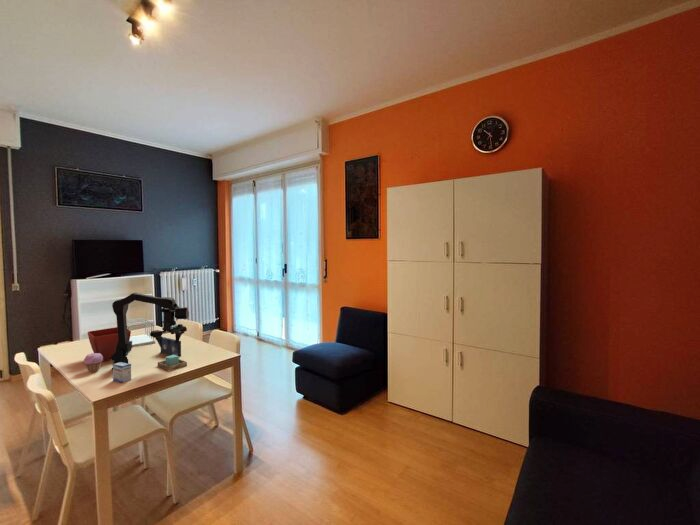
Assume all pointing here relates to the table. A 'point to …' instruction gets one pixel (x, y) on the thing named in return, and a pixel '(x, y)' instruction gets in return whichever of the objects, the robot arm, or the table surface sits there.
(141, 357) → the table surface
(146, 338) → the file sorter
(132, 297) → the robot arm
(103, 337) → the plant pot
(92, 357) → the cupcake
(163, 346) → the vhs cassette tape
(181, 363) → the tray
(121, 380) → the medicine box
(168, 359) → the cube
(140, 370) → the table surface
